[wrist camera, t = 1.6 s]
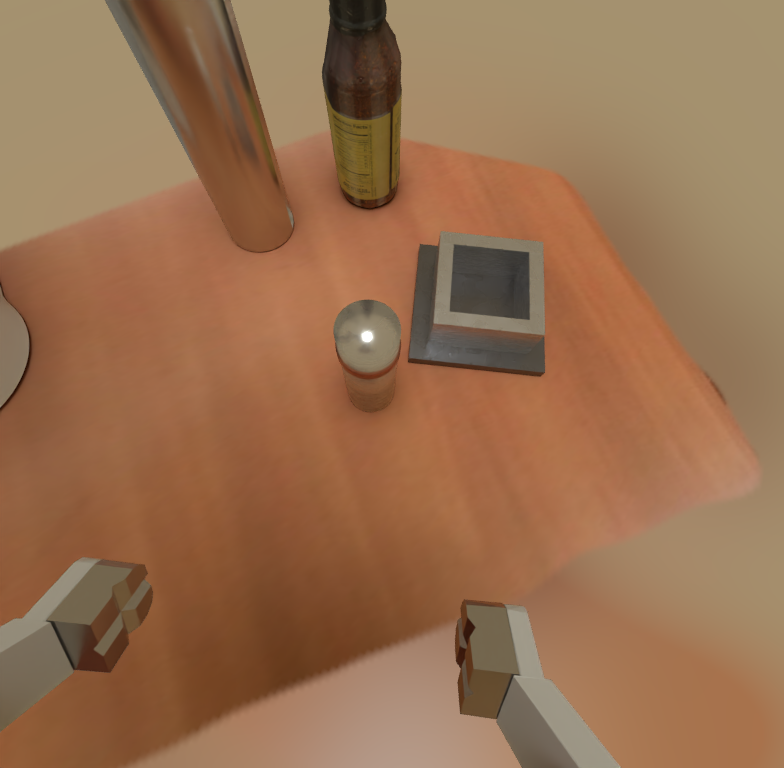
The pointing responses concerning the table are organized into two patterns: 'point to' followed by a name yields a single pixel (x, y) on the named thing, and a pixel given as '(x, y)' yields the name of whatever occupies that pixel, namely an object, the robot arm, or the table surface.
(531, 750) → the robot arm
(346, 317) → the cylinder
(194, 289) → the table surface
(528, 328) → the collar
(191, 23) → the silver piece
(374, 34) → the sauce bottle
